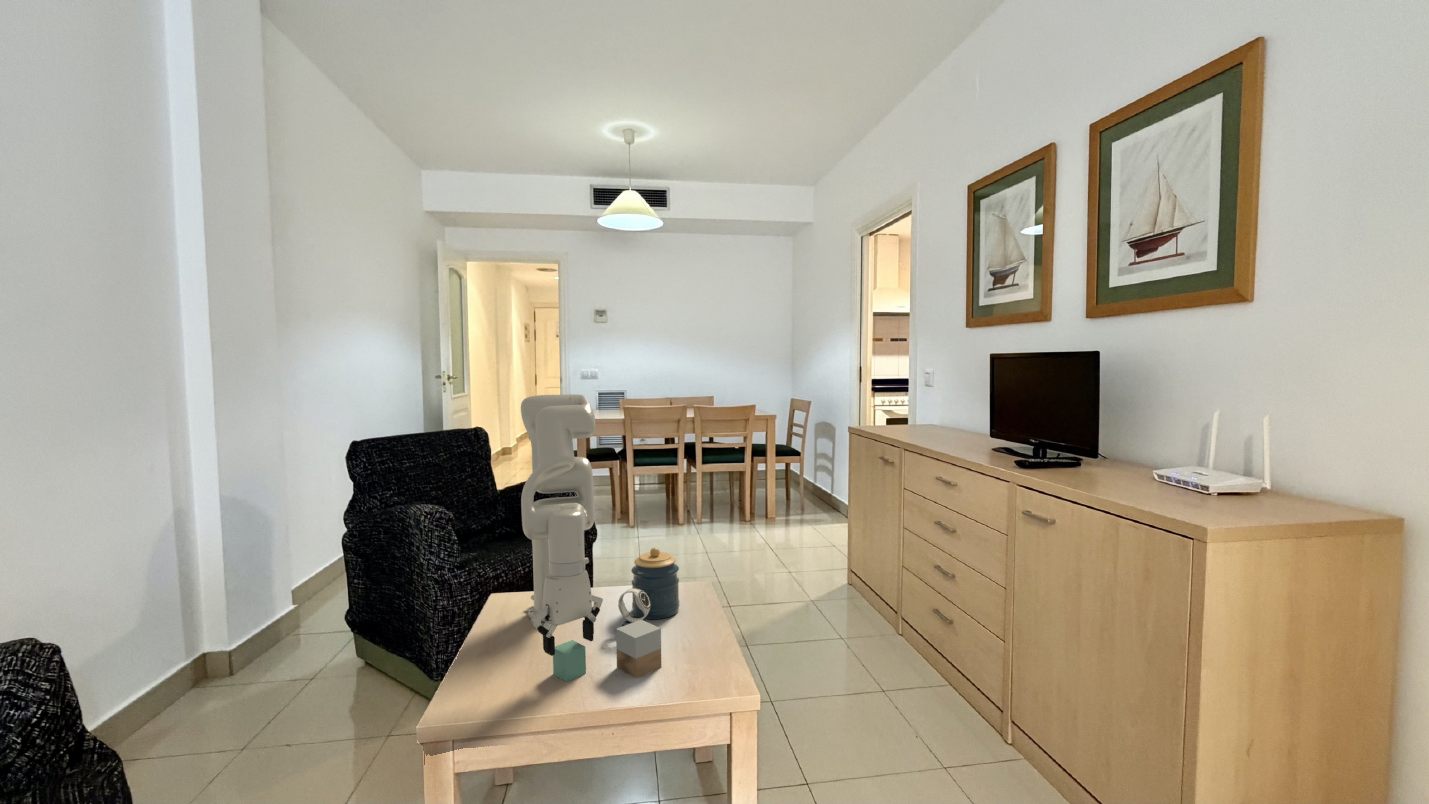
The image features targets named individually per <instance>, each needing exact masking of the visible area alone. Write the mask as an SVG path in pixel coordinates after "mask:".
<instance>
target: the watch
mask: <svg viewBox="0 0 1429 804" xmlns="http://www.w3.org/2000/svg"><path fill="white" fill-rule="evenodd" d="M630 593H632V596H633V595H634V597H635V600H636V603H637V605H638V607H639V608H640V609H641V610H642V611H643V614H645V615H644V617H637V616H636V615H634V616H633V615H630V612H629V610H628V609H627V607H626V604H625V602H624V597H625V595H626V594H630ZM650 606H651V603H650V599H649V597H648V595H647V594H646V593H645V592H644V591H641V590H640V589H635V588H632V587H631V588H628V589H627V590H625V591H624V592H623V593H622V594H621V595H620V596H619V599H618V605H617V607H618V609H619V613H620V615H621V616H622V617H623V619H624V620H625V621H624V622H623V623H622V624H621V627H622V626H625V625H628V624H631V623H633V622H636V621H639V620H643V621H646V622H647V619H646V616H647V615H648V613H649V610H650Z"/></svg>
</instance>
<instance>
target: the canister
mask: <svg viewBox="0 0 1429 804" xmlns="http://www.w3.org/2000/svg"><path fill="white" fill-rule="evenodd" d="M633 563H634V566H633V567H632V568H631V570H630V571H631V573H632V574H633V575H632V577H633V578H632V580H631V586H632V587H631V589H632V588H635V589H640V590H641V591H644V592H645V593H646V594H647V595H648V597H649V599H650V603H651V606H650V610H649V613H648V615H647V616H646V620H662V619H667V617H668V618H670V616H671V617H673V616H676V614H677V613H678V612H679V610H680V609H679V608H680V597H679V595H680V594H679V589H680V588H679V582H680V579H679V577H678V572H679V570H680V567H679V566H678V565H677V564H676V557H674V555H673V556H672V555H671V554H670V553H668V552H663V551H660V549H659V548H658V547H652V548H651V549H650V551H649V552H645V553H642V554H640V555H639V556H638V557H637V558H635V559H634V561H633ZM631 609H632V614H633V615H634V616H636V617H644V615H645V614H643V611H642V610H641V609H640V608H639V607H638V605H637V603H636V600H635V597H634V595H633V594H632V602H631Z"/></svg>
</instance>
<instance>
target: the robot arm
mask: <svg viewBox="0 0 1429 804" xmlns="http://www.w3.org/2000/svg"><path fill="white" fill-rule="evenodd" d="M520 414H521V419H522V423H523V425H524V427H525V430H526V432H527V435H528V437H529V440H530V446H531V468H532V470H531V471H532V472H531V473H530V475H529V477H528V478H527V480H526V481H525V484H523V489H522V492H521V495H520V496H521V499H520V500H521V501H520V502H521V503H520V505H521V506H520V508H521V526H522V531H523V534H524V535H525V537H527V539H529V540H531V544H532V568H533V569H532V571H533V573H532V574H533V594H532V595H531V596H530V600H532V601H533V606H532V607H531V608H530V609H529V610H528V617H529V618H530V622H531V624H532V626H533V627H534V629H535V631H536V632H537V633H539V634H540V635H542V648H543V651H544V653H546V654H547V655H548V656H551V657H553V655H554V654H555V646H556V641H555V636H554V635H553V634H554V632H555V630H556V629H557V627H558V626H561V625H564V624H568V623H571V622H574V621H578V620H580V619H582V618H583V620H582V622H581V623H582V638H583V639H585V640H586V641H589V642H592V641H593V642H594V634H595V627H594V625H595V624H594V623H595V622H596V621H597V616H598V615H599V613H600V611H601V607H602V604H603V601H604V598H603V597H599V596H596V595H593V594H592V589H591V588H592V587H591V582H590V578H589V577H590V576H589V573H588V571H587V569H586V565H587V564H589V562H590V559H589V557H586V556H585V531H588V530H590V529H591V528H592V527H593V525H594V523H595V499H594V498H595V496H594V495H595V494H594V493H595V491H594V476H593V467H592V464H591V462H590V460H589V459H588V458H586V457H583V456H575V451H574V441H573V440H575V439H590V438H591V437H592V436H593V435H595V431H596V417H595V413H594V409H593V407H592V405H591V404H590V400H588V398H587V397H586V396H585V395H583V394H575V393H574V394H540V395H539V394H538V395H532V396H528V397H526V398H524V399H523V400H522V402H521V403H520ZM536 492H537V493H540V494H558V493H559V494H560V493H576V496H565V497H561V496H560V497H549V498H542V499H537V500H536V501H535V500H534V499H535V497H534V496H535V494H536ZM542 622H543V624H542Z"/></svg>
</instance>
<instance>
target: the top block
mask: <svg viewBox="0 0 1429 804" xmlns="http://www.w3.org/2000/svg"><path fill="white" fill-rule="evenodd" d="M615 631H616V633H615V635H616V638H615V640H616V649H618V650H620V651H622V652H624V653H626V654H628V655H629V656H631V657H633V658H635V659H637V658H639V657H641V656H644V655H646V654H649V653H651V652H653V651H656V650H658V649H661V650H662V628H661V627H659V626H656V625H655V624H652V623H650V622H647V620H646V621H643V620H639V621H636V622H633V623H631V624H628V625H625V626H622V625H621V626H620V627H617V628H615Z"/></svg>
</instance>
